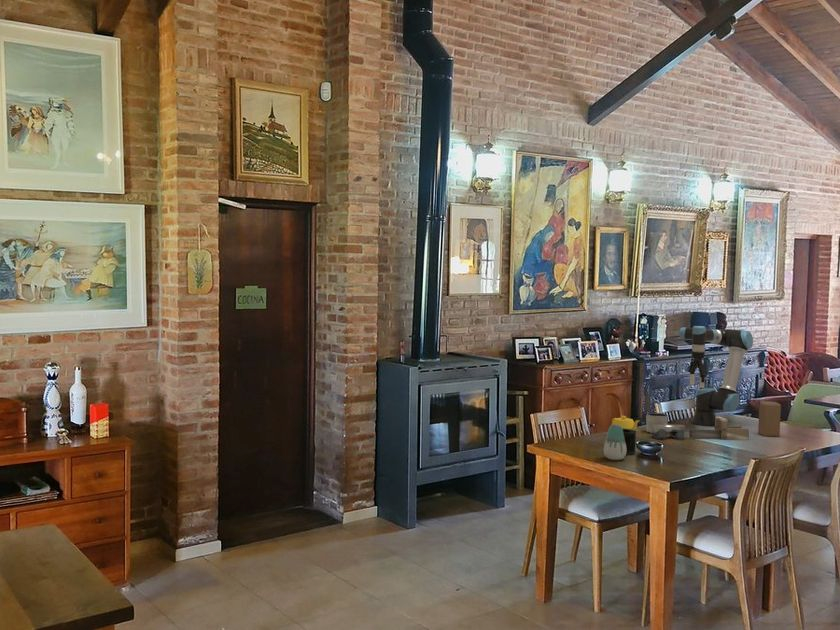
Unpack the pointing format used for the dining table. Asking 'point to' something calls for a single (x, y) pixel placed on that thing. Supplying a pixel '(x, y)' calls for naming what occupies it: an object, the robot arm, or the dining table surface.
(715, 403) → the robot arm
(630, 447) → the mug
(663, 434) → the v block
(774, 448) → the dining table surface
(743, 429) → the beam
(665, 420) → the planter
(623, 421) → the teapot
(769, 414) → the wooden block
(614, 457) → the vase
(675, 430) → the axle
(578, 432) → the dining table surface
